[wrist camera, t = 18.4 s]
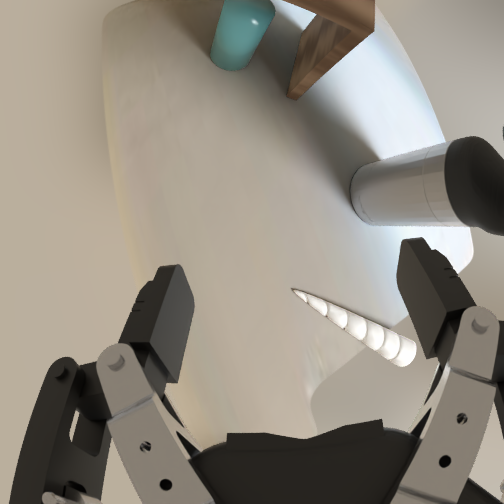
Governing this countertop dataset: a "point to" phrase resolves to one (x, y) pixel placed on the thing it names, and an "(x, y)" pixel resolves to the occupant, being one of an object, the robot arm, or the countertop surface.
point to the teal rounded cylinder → (240, 32)
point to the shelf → (328, 38)
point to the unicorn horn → (366, 331)
